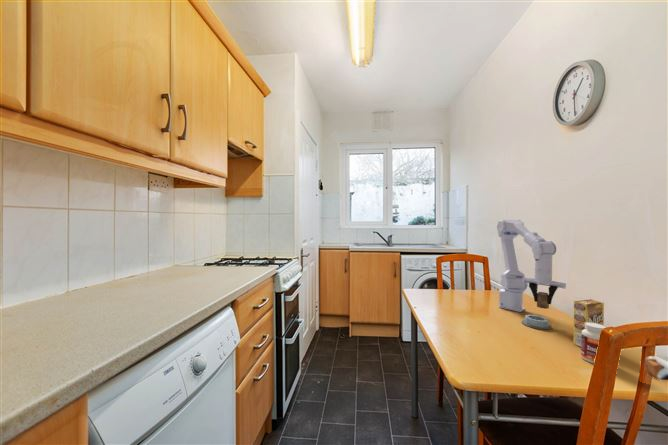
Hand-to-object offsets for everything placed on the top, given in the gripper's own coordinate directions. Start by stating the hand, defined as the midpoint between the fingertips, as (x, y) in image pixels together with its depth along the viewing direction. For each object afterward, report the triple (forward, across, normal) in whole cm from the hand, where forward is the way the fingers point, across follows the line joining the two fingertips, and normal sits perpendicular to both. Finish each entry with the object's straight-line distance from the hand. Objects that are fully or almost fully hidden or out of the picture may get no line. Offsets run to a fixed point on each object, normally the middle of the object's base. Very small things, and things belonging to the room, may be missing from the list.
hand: (542, 302), depth 113 cm
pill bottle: (+9, +16, -26) cm, 32 cm away
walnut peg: (+2, 0, 0) cm, 2 cm away
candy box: (+9, +14, -13) cm, 22 cm away
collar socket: (+9, -2, -4) cm, 10 cm away
